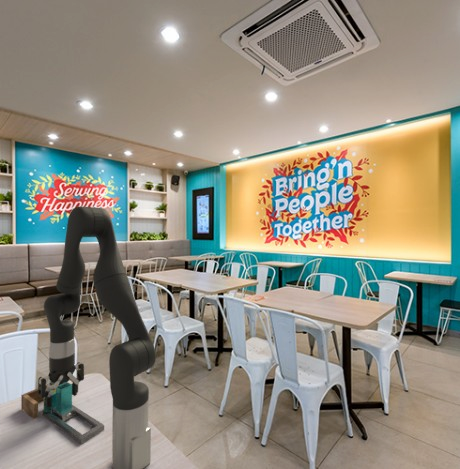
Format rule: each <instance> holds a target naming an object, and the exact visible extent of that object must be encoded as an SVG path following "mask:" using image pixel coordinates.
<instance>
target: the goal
mask: <svg viewBox="0 0 460 469" xmlns="http://www.w3.org/2000/svg"><path fill="white" fill-rule="evenodd" d="M47 385H48V383H47V384H46V389H47ZM53 385H54V383H53ZM20 398H21V400H20V401H21V407H20V408H21V410H22V412H24V413H26V414H27V415H28V416H30V417H31V418H32V419H33V420H36V419H38V418H39V404H40V403H42V402H43V398H41V397H40V396H38V387H37V388H35V389H33V390H32V389H31V391H27V392H25V393H23V394H21V397H20ZM43 403H44V402H43Z"/></svg>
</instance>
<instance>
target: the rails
mask: <svg viewBox="0 0 460 469" xmlns="http://www.w3.org/2000/svg"><path fill="white" fill-rule="evenodd" d="M72 408H74V409H75V417H77V418H79V419H80V420H82V421H83V422H85V423H86V424H88V425H89V426H91V427H92V428H91V429H89V430H88V431H86V432H85V433H83V434H82V433H81V432H80V431H78V430H77V429H76V428H73V427H72V425H69V424H68V423H67V422H65V421H62V420H61V419H60V418H58V417H57V416H55V415H54V414H53V413H52V411H49V412H46V413H44V409H43V410H42V411H41V412H42V413H41V415H42V416H43V417H44V418H45V419H47V420H49V422H51V423H52V424H53V425H55V426H56V427H58V428H59V429H60V430H62V431H63V432H64V433H66V434H67V435H69V437H71V438H72V439H74V440H75V441H76V442H78V443H79V444H80V445H82V444H84V443H86V442H87V441H89V440H91V439H92V438H93V437H95V436H97V435H98V434H100V433H101V432H103V431H104V430H105V424H103V423H102V422H101V421H98V420H97V419H95V418H94V417H92V416H90V415H89V414H88V413H86V412H84V411H83V410H81V409H79V408H78V407H76V406H75V405H74V404H72Z"/></svg>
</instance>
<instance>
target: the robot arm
mask: <svg viewBox="0 0 460 469" xmlns="http://www.w3.org/2000/svg"><path fill="white" fill-rule="evenodd" d="M66 224H67V225H66V234H65V241H64V248H63V249H64V250H63V251H64V252H63V260H62V262H61V263H62V264H61V268H60V270H59V271H60V272H59V274H58V277H57V281H56V284H55V286H56V289H57V291H58V292H59V293H58V294H54V295H53V294H52V295H49V296H48V297H47V298H45V301H44V303H43V310H44V314H45V316H46V319H47V322H48V327H49V332H50V333H49V348H48V357H49V358H48V370H49V372H48V375H45V376H39V377H38V380H37V388H38V396H40V397H41V398H44V397H45V406H47V407H48V408H50V407H52V396H51V395H52V393H53V391H54V390H55V389H56V388H57V386H58V385H61V384H63V383H65V382H68V383H69V381H71V382H72V383H71V385H72V397H73V396H74V397H76V396H77V395H78V393H79V384H80V382H82V381H84V379H85V365H84V363H82V362H77V363H76V342H75V323H74V321H72V320H67V319H65V320H64V319H63V320H62V319H61V316H64V315H68V314H73V313H75V312H76V311H78V310H79V308H80V307H81V285H82V284H83V280H84V277H85V273H86V264H85V261H84V258H83V256H82V253H81V250H80V246H81V242H82V239H83V238H96V239H97V242H98V247H99V257H98V260H97V262H96V265H95V268H94V271H93V274H92V275H93V276H92V281H93V282H92V284H93V286H94V289H95V294H96V295H97V299H98V301H99V303H100V304H101V305H102V307H104V309H105V310H106V311H107V312H108V313H110V314H111V315H112V317H115V319H117V320H118V321H119V323H120V324H121V326H123V328H124V331H125V332H126V335H127V338H128V340H127V341H124V342H122V343H121V342H120V343H118V344H116V345H115V346H114V347H112V349H111V350H110V354H109V359H108V360H109V364H108V365H109V366H108V367H109V387H110V394H111V398H112V433H111V434H112V438H111V440H112V447H111V452H112V459H111V461H112V463H111V464H112V469H144V468H146V467H147V466H148V465H150V464H151V454H152V452H151V449H152V448H151V446H152V445H151V444H152V436H151V435H152V429H151V427H149V407H150V406H149V404H150V403H149V402H150V401H149V400H150V399H149V398H150V394H149V393H150V391H149V387H148V385H147V384H146V383H144V382H142V381H137V380H136V381H135V377H136V376H138V375H140V374H142V373H144V372H146V371H148V370H149V369H151V368H152V367H154V365H155V363H156V359H157V358H156V355H157V354H156V349H155V345H154V343H153V341H152V338H151V336H150V333H149V332H148V330H147V327H146V325H145V322H144V319H143V318H142V316H141V314H140V310H139V308H138V304H137V302H136V299H135V297H134V294H133V290H132V286H131V284H130V283H131V282H130V280H129V277H128V274H127V272H126V269H125V266H124V264H123V260H122V257H121V254H120V251H119V247H118V246H119V245H118V242H117V238H116V233H115V228H114V223H113V220H112V218H111V214H110V213H109V211H107V209H105V208H103V207H92V206H83V205H82V206H75V207H74V208H72V209H71V210H70V213H69V216H68V219H67V223H66ZM75 371H76V377H75V375H74V373H75ZM53 383H54V385H53ZM47 384H48V385H47ZM46 385H47V389H46Z"/></svg>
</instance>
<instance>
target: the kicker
mask: <svg viewBox="0 0 460 469" xmlns="http://www.w3.org/2000/svg"><path fill="white" fill-rule="evenodd" d="M51 396H52V407H50V408H48V407H47V406H45V397H44V402H43V410H44V413H46V412H49V411H50V412H51V413H53V414H54V415H55V416H57V417H58V418H60V419H61V420H62V421H64V422H65V421H67V420H69V419H71V418H73V417H76V415H75V409H74V408H72V405H73V395H72V383H70V382H69V381H68V382H65V383H63V384H61V385H58V386H57V388H56V392H54V393H52V395H51Z"/></svg>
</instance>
